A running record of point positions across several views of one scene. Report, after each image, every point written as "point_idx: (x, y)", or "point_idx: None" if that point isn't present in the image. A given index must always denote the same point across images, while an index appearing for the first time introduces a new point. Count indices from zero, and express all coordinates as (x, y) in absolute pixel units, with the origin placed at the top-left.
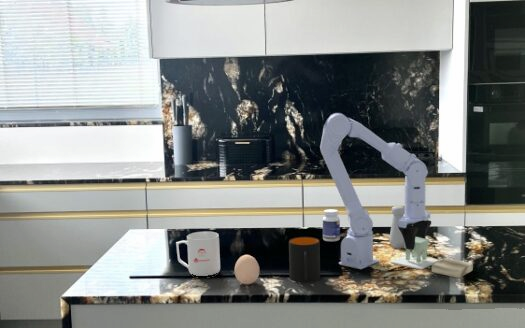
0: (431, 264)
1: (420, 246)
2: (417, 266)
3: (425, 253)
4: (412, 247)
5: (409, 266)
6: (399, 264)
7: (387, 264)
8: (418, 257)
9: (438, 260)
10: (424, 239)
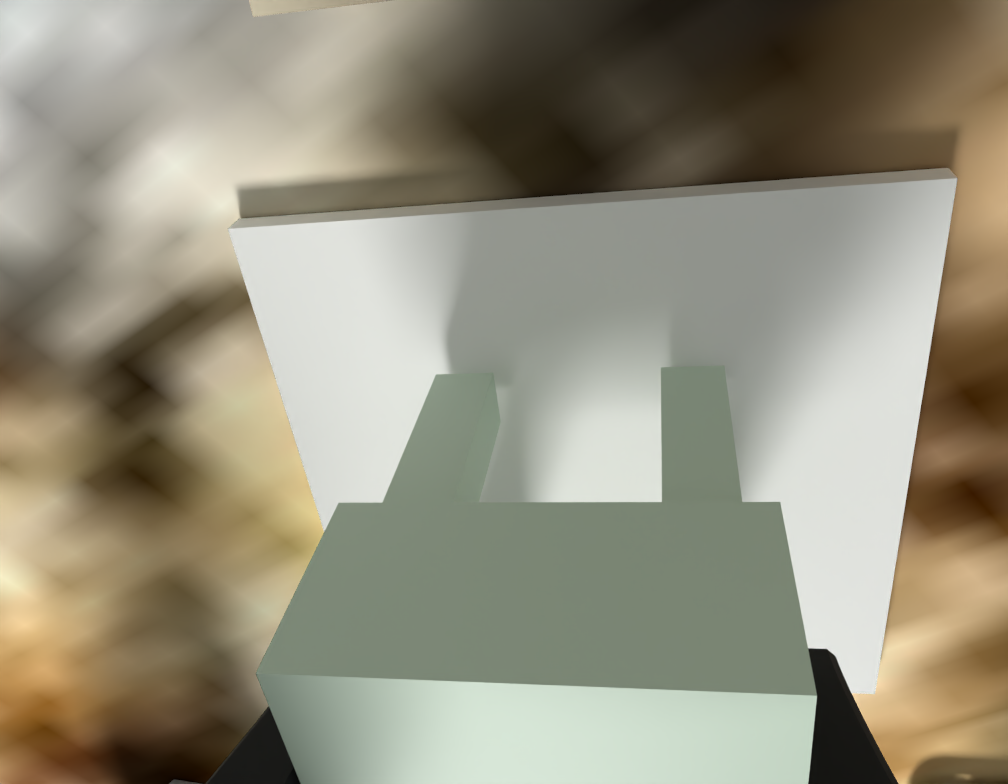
0: (531, 200)
1: (765, 599)
2: (874, 307)
3: (456, 448)
4: (851, 702)
5: (912, 420)
6: (888, 570)
7: (957, 679)
8: (729, 443)
9: (256, 223)
10: (369, 734)
